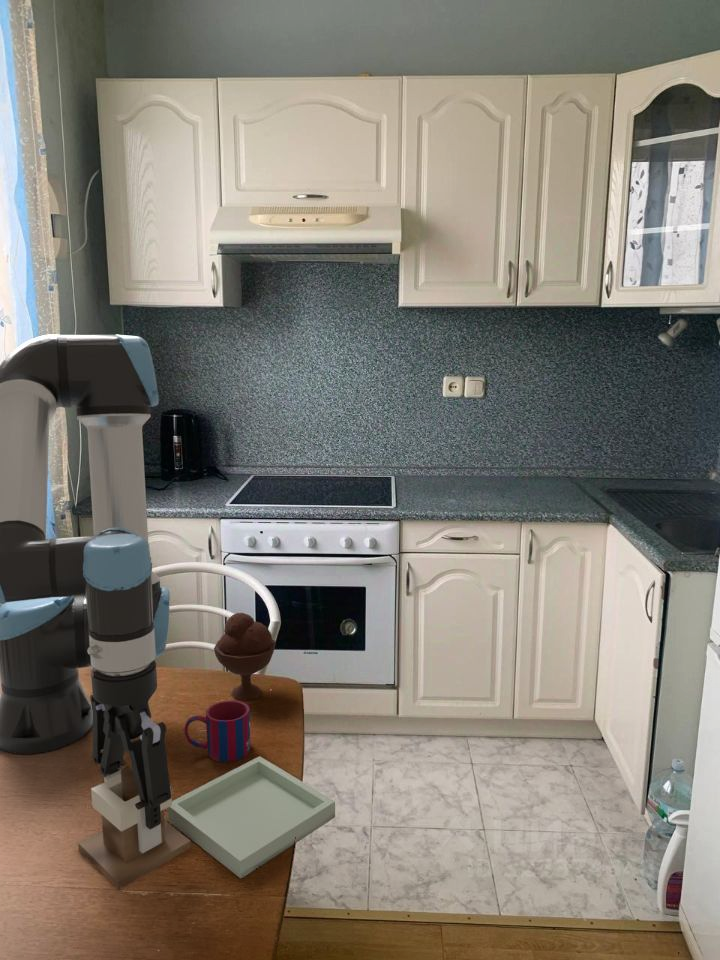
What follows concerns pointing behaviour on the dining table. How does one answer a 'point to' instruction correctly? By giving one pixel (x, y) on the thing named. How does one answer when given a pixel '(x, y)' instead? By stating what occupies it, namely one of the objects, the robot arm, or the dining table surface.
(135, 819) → the ring
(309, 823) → the tray
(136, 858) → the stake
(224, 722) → the mug
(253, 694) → the ice cream bowl
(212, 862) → the dining table surface
